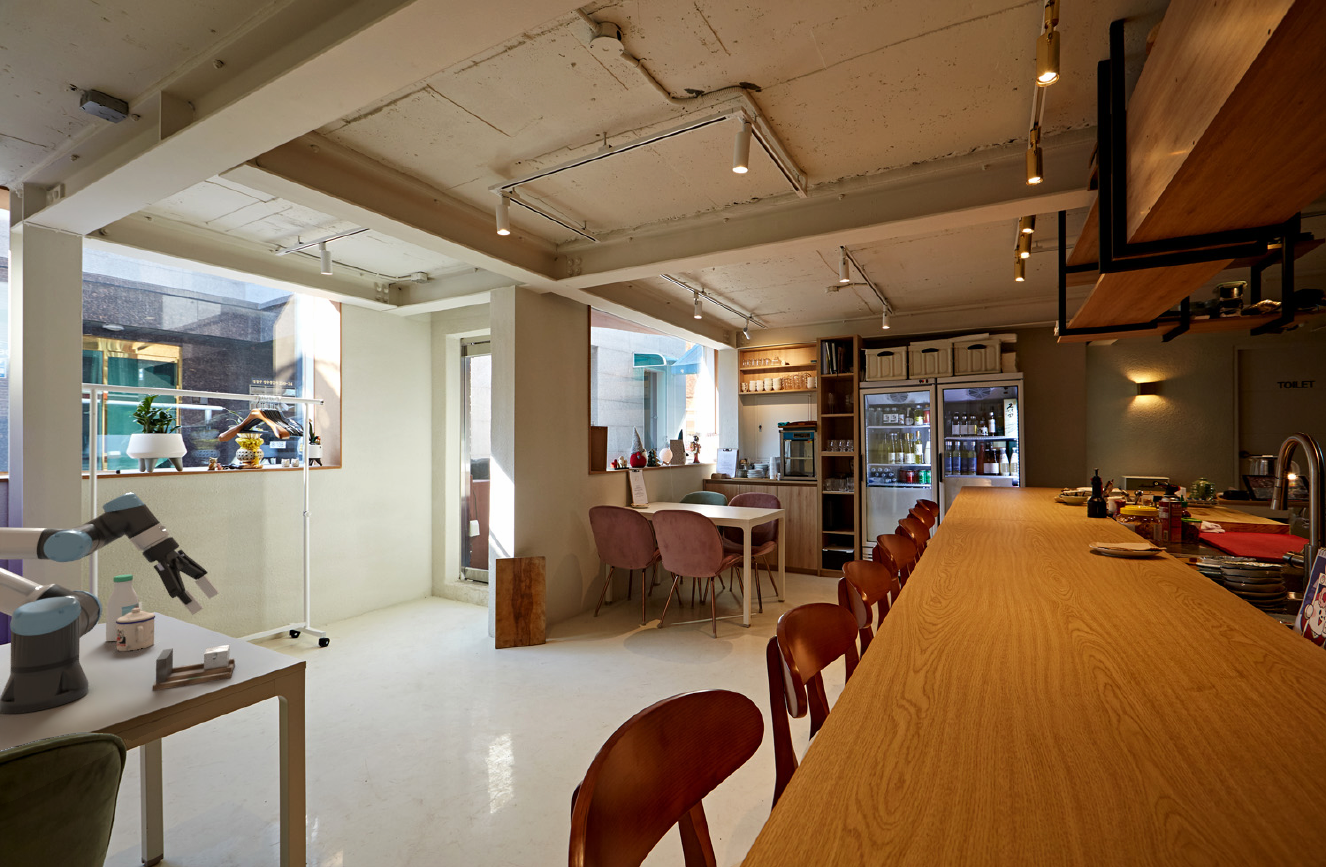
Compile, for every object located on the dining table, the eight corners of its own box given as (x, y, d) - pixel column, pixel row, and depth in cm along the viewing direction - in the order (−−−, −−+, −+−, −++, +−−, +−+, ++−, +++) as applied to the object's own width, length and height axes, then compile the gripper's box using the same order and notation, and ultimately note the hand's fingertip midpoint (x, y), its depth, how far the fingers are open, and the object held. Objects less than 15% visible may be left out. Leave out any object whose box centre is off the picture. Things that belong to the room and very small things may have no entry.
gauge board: (152, 690, 151) (152, 661, 151) (161, 676, 160) (161, 648, 160) (230, 677, 159) (231, 650, 159) (234, 664, 169) (235, 638, 169)
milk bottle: (109, 644, 186) (110, 579, 187) (103, 639, 191) (104, 576, 192) (141, 637, 193) (142, 575, 193) (134, 633, 197) (135, 572, 198)
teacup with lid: (112, 647, 183) (113, 609, 183) (151, 640, 190) (151, 603, 190) (120, 656, 176) (121, 616, 176) (160, 648, 183) (161, 609, 183)
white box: (202, 677, 156) (202, 657, 156) (206, 666, 163) (206, 648, 163) (225, 673, 158) (226, 654, 158) (229, 663, 166) (229, 644, 166)
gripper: (150, 546, 156) (205, 610, 161) (186, 526, 179) (232, 582, 184) (120, 563, 154) (176, 627, 159) (160, 540, 177) (207, 597, 182)
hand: (206, 603), depth 172 cm, fingers open, 13 cm apart
